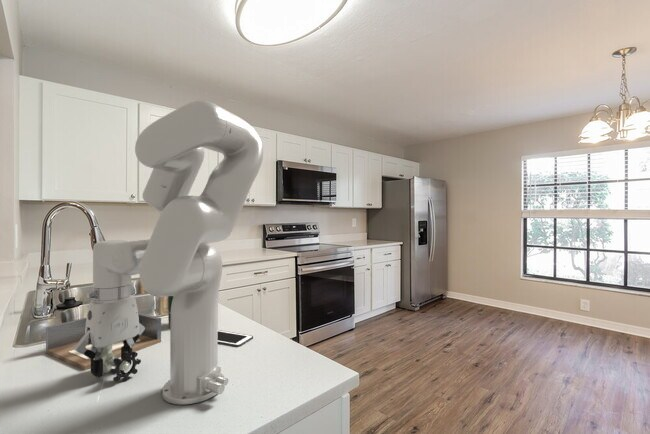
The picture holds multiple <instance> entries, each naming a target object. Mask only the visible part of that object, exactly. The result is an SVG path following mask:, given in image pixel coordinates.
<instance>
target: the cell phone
mask: <svg viewBox="0 0 650 434" xmlns="http://www.w3.org/2000/svg"><path fill="white" fill-rule="evenodd" d="M251 339H252V340H253V339H254V335H250V334H245V333H244V334H243V333H239V332H231V331H226V330H222V329H218V345H219V344H220V345H224V346H229V347H235V348H240V347H243V345H245V344H246V343H248V342H250V341H251Z"/></svg>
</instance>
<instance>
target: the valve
mask: <svg viewBox="0 0 650 434" xmlns="http://www.w3.org/2000/svg"><path fill="white" fill-rule="evenodd" d="M111 349H112V345H110V346H106V347H104V348H103V351H102V354H101V357H100V358H101V359H103V374H107V373H108V372H109V373H108V374H110V375H116V376H113V378H112V380H113V381H114V382H116V383H117V382H120V380H122V381H124V382H128V381H129V380H130V375H131V374H133V375H136V374H138V369H137V368H136V366H137V365H140V364H141V363H142V360H141V359H140V358H137V357H138V355H139V354H138V352H137V351H135V352H132V355H131V356H129V352H126V351H124V352H123V353H122V355H123V358H121V357H120V358H118V357H117V355H116V354H113V352H112V350H111ZM129 360H131V365H130V363H128V361H129ZM113 367H114V368H113ZM128 369H129V370H128ZM126 371H127V372H126Z"/></svg>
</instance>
